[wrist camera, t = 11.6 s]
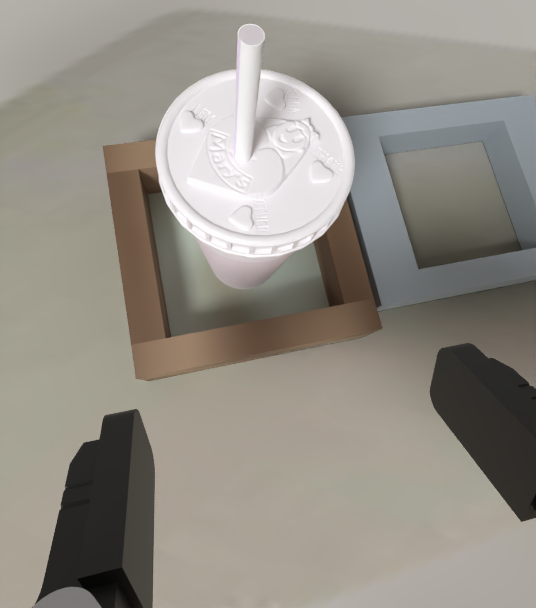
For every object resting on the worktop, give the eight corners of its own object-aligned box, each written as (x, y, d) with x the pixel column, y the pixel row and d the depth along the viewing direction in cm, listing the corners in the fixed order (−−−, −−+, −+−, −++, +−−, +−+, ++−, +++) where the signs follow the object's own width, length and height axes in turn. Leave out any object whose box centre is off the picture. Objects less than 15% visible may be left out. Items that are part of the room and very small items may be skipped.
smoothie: (163, 230, 22) (63, -46, 8) (267, 185, 23) (329, -120, 9) (217, 335, 21) (203, 217, 7) (322, 281, 22) (479, 96, 8)
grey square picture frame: (509, 116, 27) (531, 94, 25) (569, 273, 24) (598, 262, 22) (322, 140, 25) (330, 118, 23) (368, 312, 22) (381, 304, 21)
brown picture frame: (313, 152, 24) (325, 119, 21) (361, 337, 22) (382, 328, 19) (118, 178, 23) (102, 146, 20) (148, 381, 20) (136, 378, 17)
